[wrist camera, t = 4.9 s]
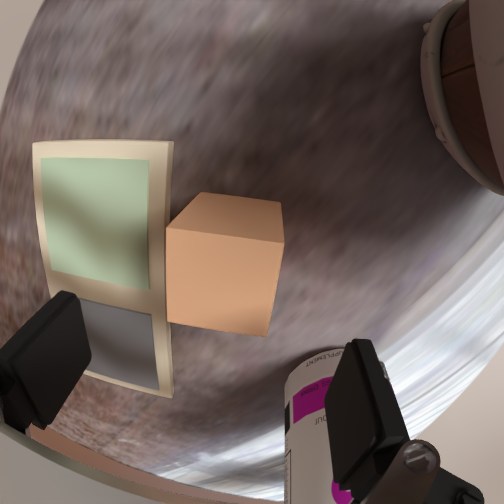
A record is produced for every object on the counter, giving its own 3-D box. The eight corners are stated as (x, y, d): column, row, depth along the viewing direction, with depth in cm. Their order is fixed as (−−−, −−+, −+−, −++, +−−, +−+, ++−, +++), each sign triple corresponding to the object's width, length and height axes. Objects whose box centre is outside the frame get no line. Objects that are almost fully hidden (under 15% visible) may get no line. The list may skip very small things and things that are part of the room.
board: (41, 141, 16) (30, 143, 15) (174, 141, 16) (167, 143, 14) (77, 363, 24) (72, 371, 23) (174, 390, 24) (171, 400, 23)
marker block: (200, 191, 17) (166, 227, 11) (280, 202, 17) (284, 243, 11) (196, 263, 19) (167, 321, 13) (268, 273, 19) (266, 337, 13)
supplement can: (316, 328, 20) (342, 553, 6) (403, 356, 21) (460, 525, 7) (267, 396, 23) (257, 567, 10) (347, 414, 24) (367, 561, 10)
